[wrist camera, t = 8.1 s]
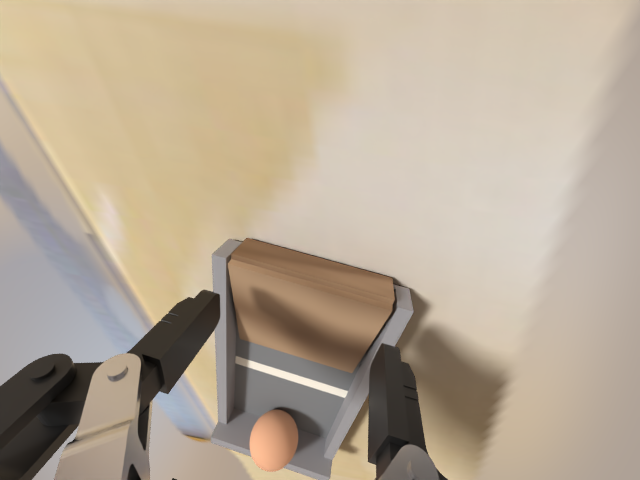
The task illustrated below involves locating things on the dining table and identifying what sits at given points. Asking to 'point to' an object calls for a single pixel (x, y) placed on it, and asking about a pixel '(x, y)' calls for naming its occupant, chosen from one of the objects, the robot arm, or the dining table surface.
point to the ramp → (307, 304)
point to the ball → (273, 440)
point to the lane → (289, 382)
